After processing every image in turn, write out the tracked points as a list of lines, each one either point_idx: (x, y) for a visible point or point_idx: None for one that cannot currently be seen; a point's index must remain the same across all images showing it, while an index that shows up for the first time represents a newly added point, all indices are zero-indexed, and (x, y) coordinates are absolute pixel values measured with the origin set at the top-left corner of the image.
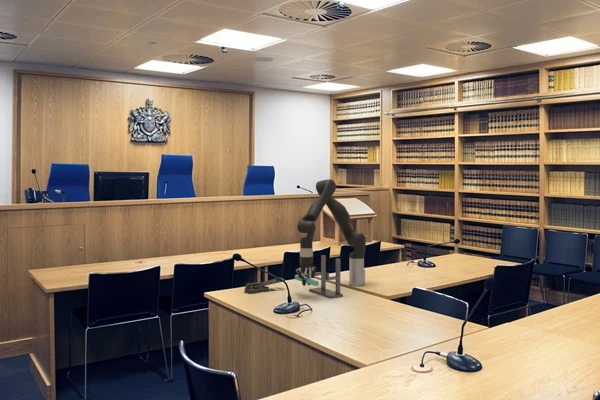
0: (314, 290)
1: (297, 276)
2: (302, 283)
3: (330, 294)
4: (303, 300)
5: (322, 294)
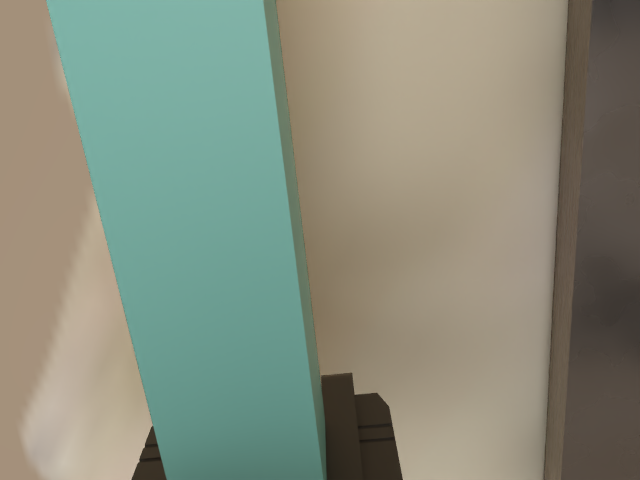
0: (595, 96)
1: (79, 95)
2: (154, 448)
3: (627, 474)
4: None
5: (561, 358)
